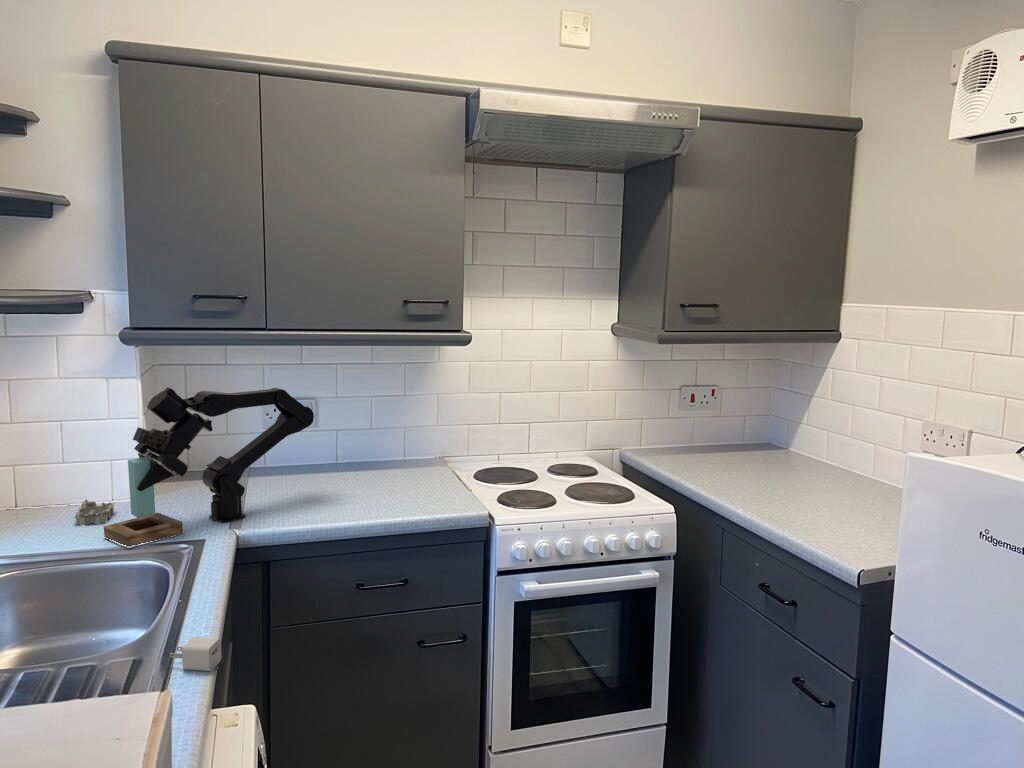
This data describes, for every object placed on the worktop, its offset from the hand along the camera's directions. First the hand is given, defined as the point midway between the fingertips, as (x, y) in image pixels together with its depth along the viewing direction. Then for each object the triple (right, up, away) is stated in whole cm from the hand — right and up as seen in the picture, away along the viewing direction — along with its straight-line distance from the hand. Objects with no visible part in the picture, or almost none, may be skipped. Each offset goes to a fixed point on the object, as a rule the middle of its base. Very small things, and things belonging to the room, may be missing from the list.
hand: (135, 488), depth 170 cm
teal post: (+1, -6, +2) cm, 7 cm away
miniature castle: (-17, -10, +14) cm, 25 cm away
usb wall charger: (+37, -21, -53) cm, 68 cm away
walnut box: (+1, -12, +3) cm, 12 cm away
